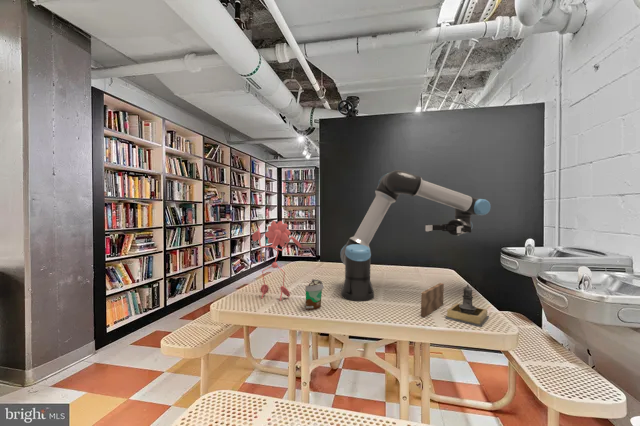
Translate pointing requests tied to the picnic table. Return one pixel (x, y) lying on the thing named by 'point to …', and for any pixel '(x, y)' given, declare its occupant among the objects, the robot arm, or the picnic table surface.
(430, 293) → the board
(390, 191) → the robot arm
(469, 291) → the salt shaker
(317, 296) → the food container
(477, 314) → the yellow square tray
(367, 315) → the picnic table surface
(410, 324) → the picnic table surface
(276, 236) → the pink tall figurine
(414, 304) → the picnic table surface
